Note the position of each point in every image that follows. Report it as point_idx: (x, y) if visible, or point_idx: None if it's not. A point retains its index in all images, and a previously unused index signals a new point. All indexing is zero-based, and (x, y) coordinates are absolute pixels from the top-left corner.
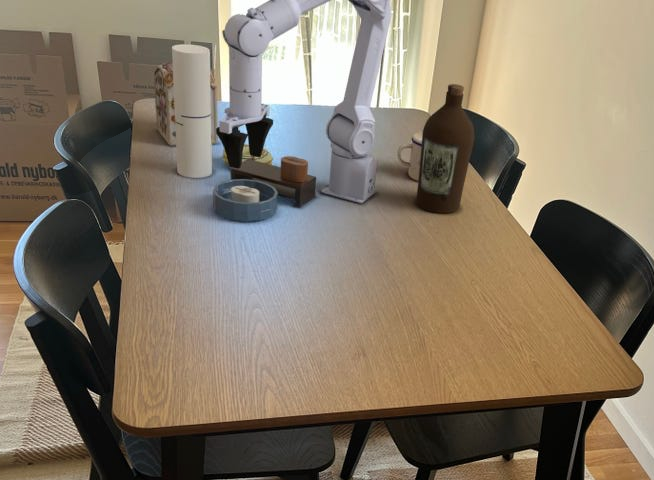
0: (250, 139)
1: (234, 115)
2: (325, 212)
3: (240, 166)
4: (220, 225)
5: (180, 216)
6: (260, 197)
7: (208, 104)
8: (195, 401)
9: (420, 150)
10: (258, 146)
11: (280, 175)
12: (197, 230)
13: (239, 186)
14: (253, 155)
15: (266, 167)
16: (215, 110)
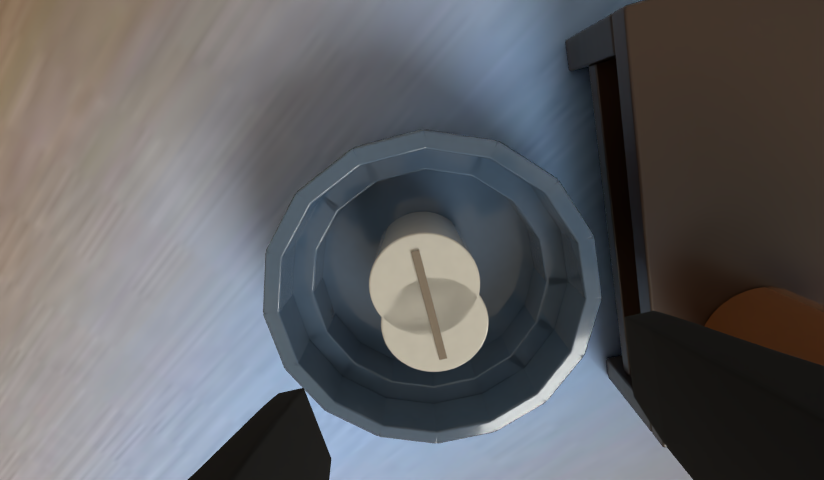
0: (760, 414)
1: None
2: (642, 451)
3: (326, 471)
4: (250, 306)
5: (161, 143)
6: (538, 266)
7: None
8: None
9: None
10: (706, 464)
11: (722, 310)
12: (149, 286)
13: (446, 251)
14: (631, 347)
15: (802, 152)
16: None
